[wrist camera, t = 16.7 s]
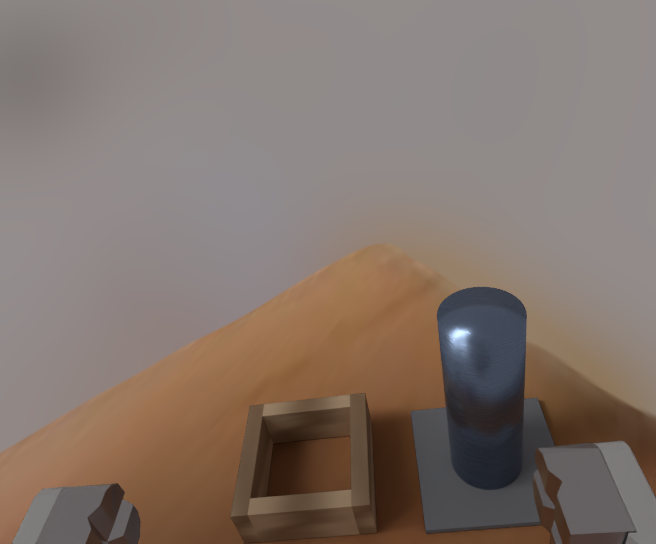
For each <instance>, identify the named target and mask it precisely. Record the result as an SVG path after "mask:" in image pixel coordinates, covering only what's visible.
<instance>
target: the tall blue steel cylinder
mask: <svg viewBox="0 0 656 544" xmlns="http://www.w3.org/2000/svg"><path fill="white" fill-rule="evenodd" d="M526 319H527V315H526V310H525V307H524V305H523V304H522V302H521V301H520V300H519V299H517V298H516V297H515V296H514V295H512V294H510V293H508V292H506V291H503V290H500V289H496V288H490V287H473V288H467V289H463V290H460V291H457V292H455V293H453V294H451V295H450V296H448V297H447V298H446V299H445V300H444V301H443V302H442V303H441V304H440V306H439V308H438V312H437V320H438V330H439V340H440V351H441V361H442V372H443V382H444V392H445V403H446V413H447V424H448V434H449V444H450V455H451V463H452V466H453V469H454V471H455V472H456V474H457V475H458V476H459V477H460V478H461V479H462V480H463V481H464V482H466V483H467V484H469V485H471V486H473V487H476V488H479V489H484V490H496V489H501V488H504V487H506V486H508V485H510V484H511V483H513V482H514V481H515V480H516V479H517V477H518V476H519V474H520V472H521V469H522V457H523V422H524V388H525V353H526Z"/></svg>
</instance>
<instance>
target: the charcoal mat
mask: <svg viewBox="0 0 656 544" xmlns="http://www.w3.org/2000/svg"><path fill="white" fill-rule="evenodd" d="M411 418H412V426H413V434H414V442H415V450H416V458H417V466H418V474H419V482H420V490H421V498H422V506H423V514H424V522H425V530H426V534H428V533H441V532H454V531H467V530H480V529H493V528H506V527H519V526H532V525H541V522H540V519H539V516H538V512H537V508H536V504H535V500H534V492H533V473H534V472H536V471H537V470H538V468H537V465H536V462H535V452H536V450H537V449H538V448H544V447H554V446H555V445H554V442H553V439H552V436H551V434H550V431H549V428H548V426H547V423H546V420H545V418H544V415H543V412H542V410H541V407H540V404H539V401H538V399H537V398H530V399H524V422H523V457H522V469H521V472H520V474H519V476H518V477H517V479H516V480H515V481H514V482H513V483H511V484H510V485H508V486H506V487H504V488H501V489H496V490H484V489H479V488H476V487H473V486H471V485H469V484H467V483H466V482H464V481H463V480H462V479H461V478H460V477H459V476H458V475H457V474H456V472H455V471H454V469H453V466H452V463H451V455H450V444H449V434H448V424H447V413H446V407H445V408H436V409H426V410H417V411H411Z"/></svg>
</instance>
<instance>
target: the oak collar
mask: <svg viewBox="0 0 656 544" xmlns="http://www.w3.org/2000/svg"><path fill="white" fill-rule="evenodd" d="M343 436H350V440H351V490H341V491H329V492H318V493H307V494H295V495H284V496H273V497H267V491H268V483H269V475H270V467H271V458H272V450H273V444H274V443H284V442H294V441H303V440H313V439H323V438H333V437H343ZM230 517H231V519H232V521H233V523H234V524H235V526H236V528H237V530H238V532H239V534H240V535H241V537H242V539H243V541H244V543H255V542H268V541H281V540H293V539H306V538H319V537H332V536H345V535H358V534H371V533H377V522H376V503H375V483H374V463H373V444H372V424H371V418H370V413H369V409H368V404H367V400H366V395H365V393H361V394H352V395H343V396H334V397H325V398H316V399H307V400H298V401H289V402H280V403H271V404H262V405H253V406H250V408H249V413H248V419H247V425H246V430H245V436H244V442H243V447H242V453H241V459H240V464H239V470H238V476H237V481H236V487H235V493H234V498H233V504H232V510H231V515H230Z"/></svg>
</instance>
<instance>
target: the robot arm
mask: <svg viewBox="0 0 656 544" xmlns="http://www.w3.org/2000/svg"><path fill="white" fill-rule="evenodd" d="M535 462H536V465H537V468H538V470H537V471H536V472H534V473H533V492H534V500H535V504H536V508H537V512H538V516H539V519H540V522H541V525H542V526H543V527H544V528H546V529H547V530H548V531H549V532H550V533H551V535H550V543H549V544H656V497H655V495H654V493H653V491H652V489H651V488H650V486H649V484H648V482H647V480H646V478H645V476H644V474H643V472H642V470H641V468H640V466H639V464H638V462H637V460H636V458H635V456H634V454H633V452H632V450H631V448H630V447H629V446H628V445H627V444H626V443H625V442H624V441H612V442H601V443H584V444H574V445H564V446H554V447H544V448H538V449H537V450H536V452H535ZM124 493H125V492H124V491H123V489H122V488H121V487H120V486H119V484H118V483H115V484H102V485H89V486H76V487H59V488H48V489H42V490H41V491H40V492H39V493H38V494H37V495H36V496H35V498H34V499H33V501H32V503H31V505H30V507H29V510H28V512H27V514H26V516H25V518H24V520H23V522H22V524H21V526H20V528H19V530H18V532H17V534H16V536H15V538H14V540H13V542H12V544H138V541H139V537H140V518H139V514H138V511H137V510H136V508H135V506H134V505H133V504H131V503H129V502H127V501H125V500H123V496H124Z"/></svg>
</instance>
